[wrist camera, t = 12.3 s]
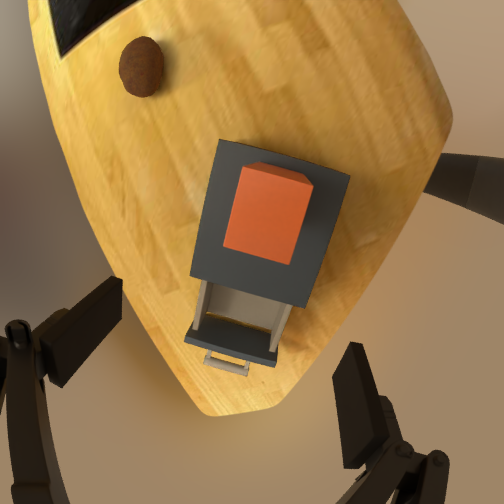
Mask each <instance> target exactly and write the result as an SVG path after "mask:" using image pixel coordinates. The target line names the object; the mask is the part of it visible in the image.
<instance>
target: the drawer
mask: <svg viewBox="0 0 504 504" xmlns="http://www.w3.org/2000/svg"><path fill="white" fill-rule="evenodd" d="M292 306H293V305H289V304H285V303H282V302H278V301H274V300H271V299H267V298H263V297H260V296H256V295H253V294H249V293H246V292H242V291H239V290H235V289H232V288H228V287H225V286H221V285H218V284H215V283H211V282H208V281H205V280H202V281H201V286H200V291H199V296H198V301H197V306H196V312H195V317H194V320H193V322H192V324H191V326H190V328H189V330H188V331H187V333H186V335H185V339H184V342H186V343H189V344H192V345H195V346H198V347H202V348H205V349H208V351H207V355H206V356H205V358H204V362H203V364H205V365H208V366H212V367H215V368H218V369H222V370H225V371H229V372H232V373H236V374H240V375H243V376H247V375H248V371H249V364H250V362H254V363H258V364H261V365H265V366H269V367H274V368H275V366H276V363H277V355H278V343H279V340H280V337H281V335H282V332H283V330H284V327H285V324H286V322H287V319H288V316H289V314H290V311H291V308H292ZM206 312H211V313H214V314H217V315H221V316H224V317H227V318H231V319H234V320H238V321H241V322H245V323H248V324H252V325H256V326H259V327H263V328H267V329H271V330H272V331H271V333H267V332H264V331H260V330H256V329H253V328H249V327H245V326H242V325H238V324H235V323H231V322H228V321H225V320H221V319H218V318H215V317H211V316H208V315H205V314H206ZM212 351H215V352H218V353H221V354H225V355H228V356H232V357H235V358H239V359H243V360H246V363H245V366H242V365H238V364H235V363H231V362H228V361H224V360H221V359H217V358H214V357H211V353H212Z"/></svg>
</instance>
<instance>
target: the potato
mask: <svg viewBox="0 0 504 504" xmlns="http://www.w3.org/2000/svg"><path fill="white" fill-rule="evenodd" d="M162 71H163V53H162V51H161V49H160V47H159V46H158V44H157V43H156V42H155V41H154V40H153V39H151V38H149V37H145V36H142V37H139V38H136V39H134V40H133V41H132V42H130V43H129V44H128V45H127V46H126V47H125V49H124V50H123V51H122V54H121V58H120V62H119V74H120V78H121V80H122V82H123V84H124V87H125V89H126V90H127V91H128V92H129V93H130V94H132V95H135V96H138V97H147V96H151V95H152V94H153V93H154V92H155V91H156V90H157V89H158V86H159V84H160V81H161V77H162Z"/></svg>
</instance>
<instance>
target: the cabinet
mask: <svg viewBox="0 0 504 504" xmlns="http://www.w3.org/2000/svg"><path fill="white" fill-rule="evenodd" d="M256 162H262V163H266V164H270V165H274V166H277V167H281V168H284V169H288V170H291V171H295V172H298V173H302V174H304V175H305V176H306V177H307V179H308V180H309V181H310V182H311V184H312V185H313V186H314V187H313V190H312V194H311V197H310V200H309V204H308V207H307V210H306V213H305V217H304V220H303V223H302V226H301V230H300V233H299V236H298V239H297V242H296V245H295V249H294V252H293V255H292V258H291V261H290V264H289V265H287V264H283V263H280V262H276V261H273V260H269V259H265V258H262V257H258V256H255V255H251V254H248V253H244V252H241V251H237V250H234V249H230V248H227V247H224V246H223V245H224V240H225V236H226V232H227V228H228V224H229V220H230V215H231V211H232V207H233V203H234V199H235V195H236V191H237V187H238V183H239V179H240V175H241V171H242V167H243V166H246V165H249V164H253V163H256ZM349 179H350V175H347V174H345V173H342V172H339V171H336V170H333V169H330V168H327V167H324V166H321V165H317V164H314V163H311V162H308V161H304V160H301V159H297V158H294V157H290V156H287V155H283V154H280V153H276V152H272V151H268V150H265V149H261V148H257V147H253V146H249V145H245V144H241V143H236V142H232V141H227V140H222V139H219V142H218V146H217V150H216V154H215V158H214V162H213V167H212V171H211V175H210V179H209V184H208V188H207V192H206V197H205V201H204V206H203V211H202V215H201V220H200V225H199V230H198V235H197V240H196V245H195V250H194V255H193V260H192V265H191V271H190V276H191V277H195V278H198V279H201V280H205V281H208V282H211V283H215V284H218V285H221V286H225V287H228V288H232V289H235V290H239V291H242V292H246V293H249V294H253V295H256V296H260V297H263V298H267V299H271V300H274V301H278V302H282V303H285V304H289V305H293V306H297V307H300V308H304V309H305V307H306V304H307V302H308V299H309V297H310V294H311V291H312V289H313V286H314V283H315V281H316V278H317V275H318V273H319V270H320V267H321V264H322V261H323V259H324V256H325V253H326V250H327V247H328V244H329V241H330V239H331V236H332V233H333V230H334V227H335V224H336V221H337V218H338V215H339V211H340V208H341V205H342V202H343V199H344V196H345V193H346V189H347V186H348V183H349Z"/></svg>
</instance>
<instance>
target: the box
mask: <svg viewBox="0 0 504 504" xmlns="http://www.w3.org/2000/svg"><path fill="white" fill-rule="evenodd" d="M313 187H314V186H313V185H312V184H311V182H310V181H309V180H308V179H307V177H306V176H305V175H304V174H302V173H298V172H295V171H291V170H288V169H284V168H281V167H277V166H274V165H270V164H266V163H262V162H256V163H253V164H249V165H246V166H243V167H242V171H241V175H240V179H239V183H238V187H237V191H236V195H235V199H234V203H233V207H232V211H231V215H230V220H229V224H228V228H227V232H226V236H225V240H224V245H223V246H224V247H227V248H230V249H234V250H237V251H241V252H244V253H248V254H251V255H255V256H258V257H262V258H265V259H269V260H273V261H276V262H280V263H283V264H287V265H289V264H290V261H291V258H292V255H293V252H294V249H295V245H296V242H297V239H298V236H299V233H300V230H301V226H302V223H303V220H304V217H305V213H306V210H307V207H308V204H309V200H310V197H311V194H312V190H313Z"/></svg>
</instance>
